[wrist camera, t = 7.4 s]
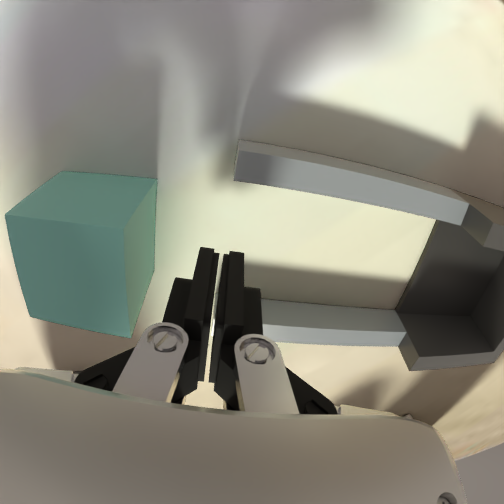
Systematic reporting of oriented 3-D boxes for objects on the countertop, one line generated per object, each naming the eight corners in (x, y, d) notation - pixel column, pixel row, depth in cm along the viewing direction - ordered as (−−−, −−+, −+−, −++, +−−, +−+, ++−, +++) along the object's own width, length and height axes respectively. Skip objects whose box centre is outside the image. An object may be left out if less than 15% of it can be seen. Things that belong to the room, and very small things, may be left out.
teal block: (157, 178, 14) (123, 228, 10) (154, 269, 16) (131, 338, 12) (62, 170, 13) (5, 214, 9) (70, 257, 16) (30, 316, 12)
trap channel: (527, 217, 15) (564, 248, 12) (470, 325, 20) (493, 362, 17) (238, 139, 13) (238, 164, 10) (213, 310, 18) (209, 365, 14)
